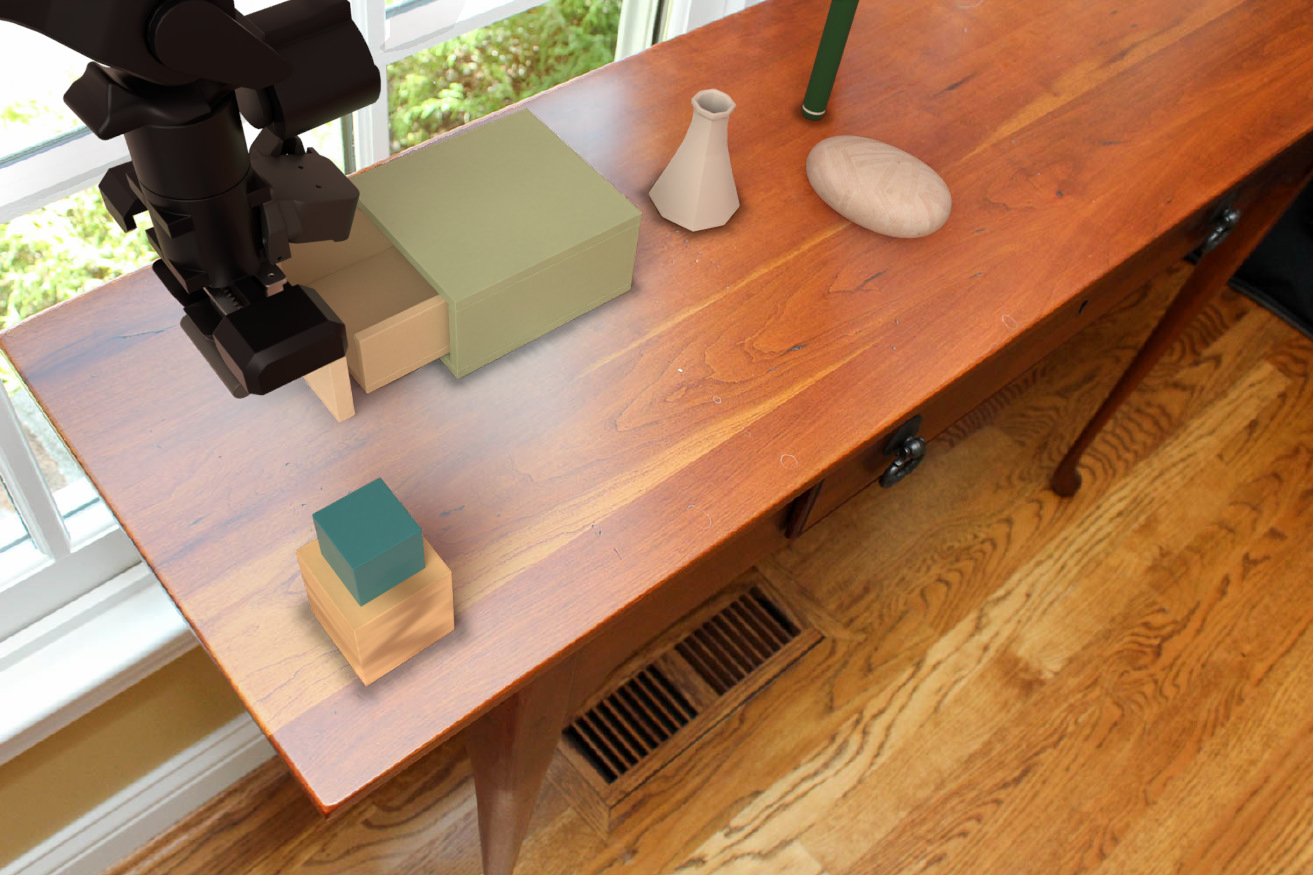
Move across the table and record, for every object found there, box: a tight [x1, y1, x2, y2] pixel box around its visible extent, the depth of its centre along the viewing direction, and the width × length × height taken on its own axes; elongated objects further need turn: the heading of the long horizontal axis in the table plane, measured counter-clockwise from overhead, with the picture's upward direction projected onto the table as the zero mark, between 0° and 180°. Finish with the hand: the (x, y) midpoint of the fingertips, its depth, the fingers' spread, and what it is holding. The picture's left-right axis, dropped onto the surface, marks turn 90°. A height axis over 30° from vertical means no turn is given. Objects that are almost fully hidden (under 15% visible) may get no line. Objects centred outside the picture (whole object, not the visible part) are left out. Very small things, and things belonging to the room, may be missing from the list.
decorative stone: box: [805, 134, 953, 239], centre depth 89 cm, size 13×9×5 cm
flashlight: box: [801, 0, 860, 122], centre depth 90 cm, size 5×5×20 cm
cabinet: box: [347, 107, 643, 380], centre depth 78 cm, size 16×14×8 cm
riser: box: [295, 535, 455, 687], centre depth 61 cm, size 6×6×7 cm
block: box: [311, 477, 425, 606], centre depth 56 cm, size 4×4×4 cm
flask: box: [648, 88, 740, 232], centre depth 85 cm, size 7×7×10 cm
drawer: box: [179, 206, 450, 423], centre depth 72 cm, size 20×13×6 cm, turn 130°
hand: (245, 356), depth 69 cm, fingers closed, pressing on drawer
